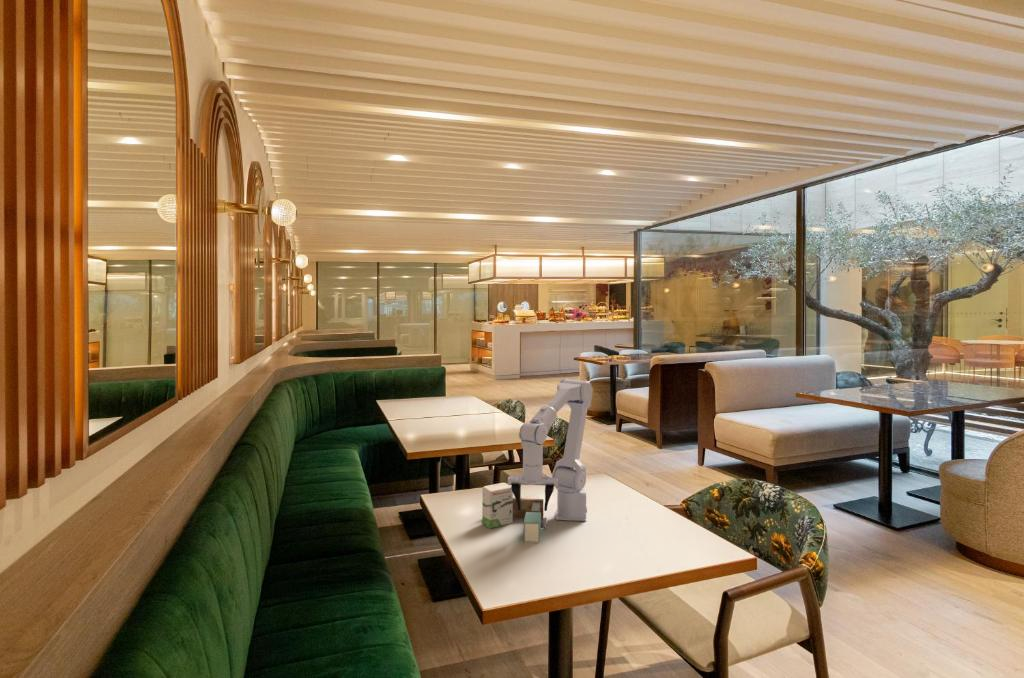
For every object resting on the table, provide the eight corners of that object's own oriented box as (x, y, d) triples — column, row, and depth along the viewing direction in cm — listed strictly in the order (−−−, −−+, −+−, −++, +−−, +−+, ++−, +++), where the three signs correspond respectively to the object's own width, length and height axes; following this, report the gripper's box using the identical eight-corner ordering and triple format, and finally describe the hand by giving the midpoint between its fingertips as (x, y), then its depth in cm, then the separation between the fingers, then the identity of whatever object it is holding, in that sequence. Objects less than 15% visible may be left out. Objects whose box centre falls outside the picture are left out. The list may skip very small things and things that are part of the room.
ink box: (489, 529, 177) (489, 491, 176) (481, 523, 181) (481, 486, 180) (513, 523, 182) (513, 486, 181) (504, 517, 186) (504, 481, 185)
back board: (543, 517, 186) (543, 499, 186) (543, 518, 185) (543, 500, 185) (490, 515, 188) (490, 497, 187) (490, 516, 187) (490, 498, 186)
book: (540, 531, 175) (541, 512, 175) (539, 543, 167) (539, 522, 167) (525, 531, 176) (526, 511, 175) (523, 542, 168) (524, 522, 167)
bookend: (546, 519, 185) (546, 502, 184) (545, 529, 177) (545, 511, 177) (532, 518, 185) (532, 501, 185) (531, 528, 177) (531, 510, 177)
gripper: (506, 466, 166) (506, 513, 167) (557, 468, 165) (557, 515, 166) (509, 460, 173) (509, 504, 174) (557, 461, 172) (557, 506, 173)
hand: (532, 509), depth 171 cm, fingers open, 7 cm apart
